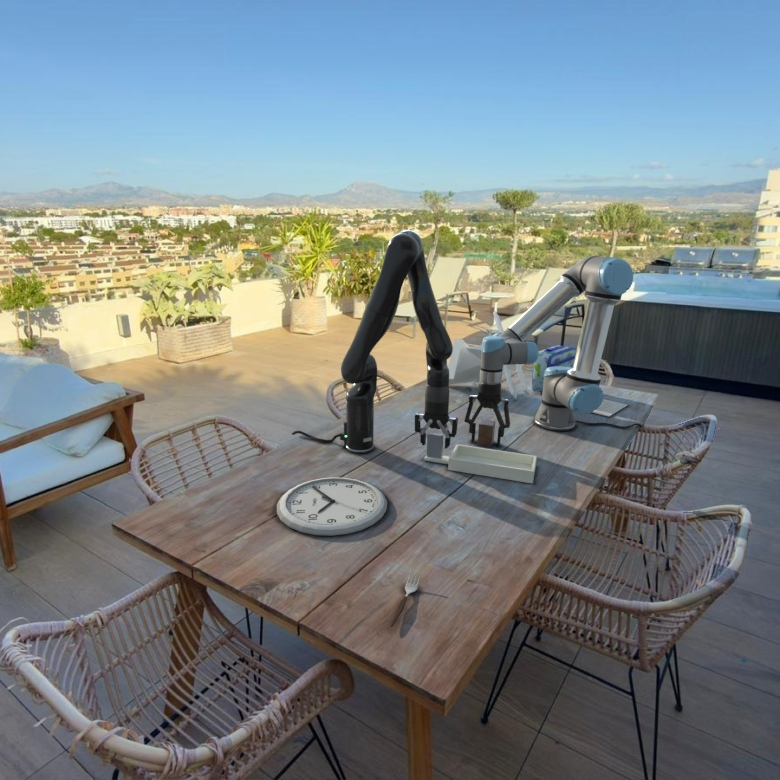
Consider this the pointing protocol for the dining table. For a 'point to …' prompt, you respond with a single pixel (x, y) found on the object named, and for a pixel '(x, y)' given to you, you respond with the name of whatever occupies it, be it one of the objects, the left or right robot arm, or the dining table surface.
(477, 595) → the dining table surface
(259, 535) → the dining table surface
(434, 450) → the tray
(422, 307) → the left robot arm
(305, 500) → the wall clock
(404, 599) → the fork
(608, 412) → the invitation card
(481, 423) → the walnut block
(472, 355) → the white plastic object
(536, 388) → the lunch box
